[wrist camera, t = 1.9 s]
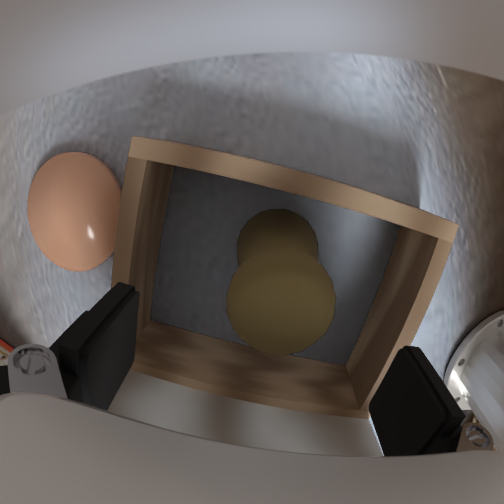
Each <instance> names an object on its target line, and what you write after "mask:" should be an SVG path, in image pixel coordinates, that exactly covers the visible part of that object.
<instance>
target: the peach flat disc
mask: <svg viewBox="0 0 504 504" xmlns="http://www.w3.org/2000/svg"><path fill="white" fill-rule="evenodd" d="M121 194H122V189H121V186H120V184H119V182H118V180H117V178H116V176H115V175H114V173H113V172H112V170H111V169H110V168H109V167H108V166H107V165H106V164H105V163H104V162H103V161H102V160H100V159H99V158H97V157H95V156H93V155H91V154H88V153H84V152H66V153H61V154H58V155H56V156H54V157H52V158H51V159H49V160H48V161H46V162H45V163H44V164H43V165H42V166H41V168H40V169H39V170H38V172H37V173H36V175H35V177H34V179H33V181H32V184H31V187H30V190H29V195H28V206H27V211H28V220H29V225H30V228H31V232H32V234H33V237H34V239H35V241H36V243H37V245H38V246H39V248H40V249H41V251H42V252H43V253H44V254H45V256H46V257H47V258H48V259H49V260H51V261H52V262H53V263H55V264H56V265H58V266H59V267H62V268H64V269H66V270H70V271H77V272H78V271H87V270H90V269H93V268H95V267H97V266H98V265H100V264H101V263H103V262H104V261H106V260H107V259H108V258H109V257H110V256H111V255H112V254H113V253H114V248H115V239H116V231H117V223H118V215H119V208H120V201H121Z"/></svg>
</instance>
